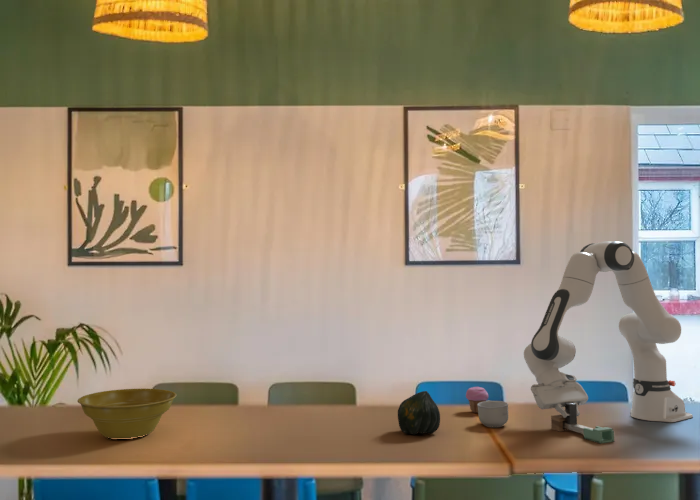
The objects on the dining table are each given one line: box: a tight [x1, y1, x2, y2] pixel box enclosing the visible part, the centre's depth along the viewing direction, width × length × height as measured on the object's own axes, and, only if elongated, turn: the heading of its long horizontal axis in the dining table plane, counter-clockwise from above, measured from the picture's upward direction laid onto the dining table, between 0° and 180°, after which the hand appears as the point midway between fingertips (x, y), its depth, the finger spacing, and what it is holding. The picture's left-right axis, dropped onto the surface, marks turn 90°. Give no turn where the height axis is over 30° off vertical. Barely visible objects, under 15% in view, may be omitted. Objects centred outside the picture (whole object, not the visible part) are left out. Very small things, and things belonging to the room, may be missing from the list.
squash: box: [397, 390, 441, 436], centre depth 219 cm, size 14×15×15 cm
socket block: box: [550, 414, 570, 432], centre depth 222 cm, size 7×4×4 cm, turn 113°
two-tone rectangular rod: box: [563, 403, 594, 435], centre depth 216 cm, size 3×15×9 cm, turn 23°
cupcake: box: [465, 386, 489, 414], centre depth 251 cm, size 9×9×10 cm
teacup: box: [477, 399, 509, 428], centre depth 230 cm, size 14×11×8 cm
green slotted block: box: [583, 425, 615, 444], centre depth 207 cm, size 6×7×4 cm
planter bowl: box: [77, 388, 177, 438], centre depth 219 cm, size 32×32×13 cm
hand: (572, 416), depth 218 cm, fingers open, 3 cm apart
